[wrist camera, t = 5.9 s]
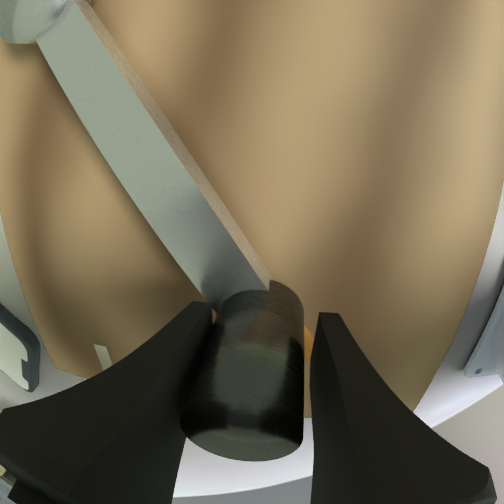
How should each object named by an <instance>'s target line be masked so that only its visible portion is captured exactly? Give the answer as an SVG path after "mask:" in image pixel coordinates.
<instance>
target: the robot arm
mask: <svg viewBox="0 0 504 504" xmlns="http://www.w3.org/2000/svg"><path fill="white" fill-rule="evenodd" d="M212 326H213V319H212V303H208V302H199V301H192V302H191V303H190V304H189V305H187V306H186V307H185V308H184V309H183V310H182V311H181V312H180V313H179V314H177V315H176V316H175V317H174V318H173V319H172V320H171V321H170V322H168V323H167V324H166V325H165V326H164V327H163V328H162V329H160V330H159V331H158V332H157V333H156V334H154V335H153V336H152V337H151V338H150V339H148V340H147V341H146V342H145V343H143V344H142V345H141V346H139V347H138V348H137V349H135V350H134V351H133V352H131V353H130V354H129V355H127V356H126V357H124V358H123V359H122V360H120V361H118V362H117V363H115V364H114V365H112V366H110V367H109V368H107V369H106V370H104V371H102V372H100V373H99V374H97V375H95V376H93V377H91V378H89V379H87V380H85V381H83V382H81V383H79V384H77V385H75V386H73V387H71V388H68V389H66V390H64V391H61V392H59V393H56V394H53V395H51V396H48V397H45V398H42V399H39V400H36V401H33V402H29V403H26V404H22V405H18V406H14V407H10V408H5V409H3V410H2V412H1V413H0V465H1V466H3V467H4V468H5V469H6V470H7V471H8V472H9V473H10V474H12V475H13V476H14V477H15V478H16V479H17V480H16V481H15V483H14V485H13V487H12V486H11V485H9V484H8V483H6V482H5V481H4V480H2V479H1V478H0V504H171V503H172V498H173V492H174V487H175V483H176V478H177V473H178V469H179V464H180V460H181V456H182V452H183V448H184V444H185V440H186V437H187V436H186V435H185V434H184V433H183V431H182V429H181V427H180V424H179V419H180V415H181V412H182V409H183V407H184V404H185V401H186V398H187V395H188V393H189V390H190V387H191V384H192V381H193V378H194V376H195V373H196V370H197V367H198V365H199V362H200V359H201V356H202V353H203V351H204V348H205V345H206V342H207V340H208V337H209V334H210V331H211V328H212ZM463 372H464V374H465V376H466V377H476V376H484V375H492V374H499V375H500V377H501V379H502V381H503V383H504V286H503V288H502V291H501V293H500V296H499V298H498V301H497V303H496V306H495V308H494V310H493V312H492V315H491V317H490V319H489V321H488V323H487V326H486V328H485V330H484V332H483V334H482V336H481V338H480V340H479V342H478V344H477V346H476V348H475V350H474V352H473V353H472V355H471V357H470V359H469V361H468V363H467V364H466V366H465V368H464V370H463ZM309 387H310V400H311V413H312V426H313V440H314V463H313V479H312V492H311V503H310V504H494V503H495V501H496V500H497V496H496V492H495V488H494V484H493V480H492V476H491V473H490V471H489V468H488V467H486V466H485V465H483V464H481V463H479V462H478V461H476V460H475V459H473V458H471V457H469V456H468V455H466V454H464V453H463V452H461V451H460V450H458V449H457V448H456V447H454V446H452V445H451V444H450V443H449V442H447V441H446V440H445V439H443V438H442V437H441V436H439V435H438V434H437V433H436V432H434V431H433V430H432V429H431V428H430V427H429V426H427V425H426V424H425V423H424V422H423V421H422V420H421V419H420V418H418V417H417V416H416V415H415V414H414V413H413V412H412V411H411V410H410V409H409V408H408V407H407V406H406V405H405V404H404V403H403V402H402V401H401V400H400V399H399V398H398V397H397V395H396V394H395V393H394V392H393V391H392V390H391V389H390V387H389V386H388V385H387V384H386V382H385V381H384V380H383V379H382V377H381V376H380V375H379V373H378V372H377V371H376V370H375V368H374V367H373V365H372V364H371V363H370V361H369V360H368V358H367V357H366V355H365V354H364V352H363V351H362V350H361V348H360V347H359V345H358V344H357V342H356V340H355V339H354V337H353V336H352V334H351V332H350V331H349V329H348V327H347V326H346V324H345V322H344V321H343V319H342V317H341V316H340V314H339V313H329V312H319V315H318V321H317V326H316V332H315V337H314V342H313V348H312V353H311V358H310V384H309Z"/></svg>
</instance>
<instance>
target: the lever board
mask: <svg viewBox="0 0 504 504" xmlns="http://www.w3.org/2000/svg"><path fill="white" fill-rule="evenodd" d="M91 7H92V8H93V10H94V11H95V13H96V14H97V16H98V17H99V19H100V20H101V22H102V23H103V25H104V26H105V28H106V29H107V31H108V32H109V33H110V35H111V36H112V38H113V39H114V41H115V42H116V44H117V45H118V47H119V48H120V50H121V51H122V53H123V54H124V56H125V57H126V59H127V60H128V62H129V63H130V65H131V66H132V68H133V69H134V71H135V72H136V74H137V75H138V77H139V78H140V80H141V81H142V83H143V84H144V86H145V87H146V89H147V90H148V92H149V93H150V94H151V96H152V97H153V99H154V100H155V102H156V103H157V105H158V106H159V108H160V109H161V111H162V112H163V114H164V115H165V117H166V118H167V120H168V121H169V123H170V124H171V126H172V127H173V129H174V130H175V132H176V133H177V135H178V136H179V138H180V139H181V141H182V142H183V144H184V145H185V147H186V148H187V150H188V151H189V153H190V154H191V156H192V157H193V159H194V160H195V162H196V163H197V165H198V166H199V168H200V169H201V171H202V172H203V174H204V175H205V177H206V178H207V180H208V181H209V183H210V184H211V186H212V187H213V189H214V190H215V192H216V193H217V195H218V196H219V198H220V199H221V201H222V202H223V204H224V205H225V207H226V208H227V210H228V211H229V213H230V214H231V216H232V217H233V219H234V220H235V222H236V223H237V225H238V226H239V228H240V229H241V231H242V232H243V234H244V235H245V237H246V238H247V240H248V241H249V243H250V244H251V246H252V247H253V249H254V250H255V252H256V253H257V255H258V256H259V258H260V259H261V261H262V262H263V264H264V265H265V267H266V268H267V270H268V271H269V273H270V275H271V276H272V278H273V279H274V281H277V282H280V283H282V284H284V285H286V286H287V287H289V288H290V289H291V290H293V291H294V292H295V293H296V294H297V296H298V297H299V298H300V300H301V302H302V305H303V308H304V344H305V365H304V417H309V418H312V413H311V400H310V387H309V384H310V358H311V353H312V348H313V342H314V337H315V332H316V326H317V321H318V315H319V312H329V313H339V314H340V316H341V317H342V319H343V321H344V322H345V324H346V326H347V327H348V329H349V331H350V332H351V334H352V336H353V337H354V339H355V340H356V342H357V344H358V345H359V347H360V348H361V350H362V351H363V352H364V354H365V355H366V357H367V358H368V360H369V361H370V363H371V364H372V365H373V367H374V368H375V370H376V371H377V372H378V373H379V375H380V376H381V377H382V379H383V380H384V381H385V382H386V384H387V385H388V386H389V387H390V389H391V390H392V391H393V392H394V393H395V394H396V395H397V397H398V398H399V399H400V400H401V401H402V402H403V403H404V404H405V405H406V406H407V407H408V408H409V409H410V410H411V411H412V412H413V411H414V410H415V408H416V406H417V405H418V403H419V402H420V400H421V398H422V397H423V395H424V393H425V391H426V390H427V388H428V386H429V384H430V383H431V381H432V379H433V377H434V375H435V374H436V372H437V370H438V368H439V366H440V364H441V362H442V360H443V358H444V356H445V354H446V352H447V350H448V348H449V346H450V344H451V342H452V340H453V338H454V336H455V333H456V331H457V329H458V327H459V324H460V322H461V320H462V317H463V315H464V313H465V310H466V308H467V305H468V303H469V300H470V298H471V295H472V292H473V290H474V287H475V284H476V282H477V279H478V276H479V273H480V270H481V267H482V264H483V261H484V258H485V255H486V251H487V248H488V245H489V241H490V238H491V234H492V230H493V227H494V223H495V219H496V215H497V210H498V206H499V201H500V197H501V192H502V187H503V181H504V0H95V1H94V2H93V4H92V6H91ZM0 212H1V217H2V221H3V226H4V230H5V234H6V238H7V242H8V246H9V250H10V253H11V257H12V260H13V263H14V267H15V270H16V273H17V276H18V279H19V282H20V285H21V288H22V291H23V294H24V297H25V300H26V302H27V305H28V308H29V310H30V313H31V315H32V318H33V320H34V323H35V325H36V328H37V330H38V332H39V335H40V337H41V339H42V342H43V344H44V346H45V348H46V350H47V352H48V355H49V357H50V359H51V361H52V363H53V365H54V367H55V368H57V369H60V370H63V371H66V372H69V373H71V374H74V375H77V376H80V377H84V378H87V379H89V378H91V377H93V376H95V375H97V374H99V373H100V372H102V371H104V370H106V369H107V368H109V367H110V366H112V365H114V364H115V363H117V362H118V361H120V360H122V359H123V358H124V357H126V356H127V355H129V354H130V353H131V352H133V351H134V350H135V349H137V348H138V347H139V346H141V345H142V344H143V343H145V342H146V341H147V340H148V339H150V338H151V337H152V336H153V335H154V334H156V333H157V332H158V331H159V330H160V329H162V328H163V327H164V326H165V325H166V324H167V323H168V322H170V321H171V320H172V319H173V318H174V317H175V316H176V315H177V314H179V313H180V312H181V311H182V310H183V309H184V308H185V307H186V306H187V305H189V304H190V303H191V302H192V301H199V302H207V301H206V300H205V298H204V297H203V296H202V294H201V293H200V292H199V290H198V289H197V288H196V287H195V285H194V284H193V283H192V281H191V280H190V279H189V277H188V276H187V275H186V273H185V272H184V271H183V269H182V268H181V267H180V265H179V264H178V263H177V261H176V260H175V259H174V257H173V256H172V255H171V253H170V252H169V251H168V249H167V248H166V246H165V245H164V244H163V242H162V241H161V240H160V238H159V237H158V235H157V234H156V233H155V231H154V230H153V228H152V227H151V226H150V224H149V223H148V221H147V220H146V218H145V217H144V216H143V214H142V213H141V211H140V210H139V208H138V207H137V206H136V204H135V203H134V201H133V200H132V198H131V197H130V195H129V194H128V192H127V191H126V189H125V188H124V186H123V185H122V183H121V182H120V181H119V179H118V177H117V176H116V174H115V173H114V171H113V170H112V168H111V167H110V165H109V164H108V162H107V161H106V159H105V158H104V156H103V155H102V153H101V151H100V150H99V148H98V147H97V145H96V144H95V142H94V140H93V139H92V137H91V136H90V134H89V132H88V131H87V129H86V128H85V126H84V124H83V123H82V121H81V119H80V118H79V116H78V114H77V113H76V111H75V109H74V108H73V106H72V104H71V103H70V101H69V99H68V98H67V96H66V94H65V92H64V91H63V89H62V87H61V85H60V84H59V82H58V80H57V78H56V77H55V75H54V73H53V71H52V69H51V68H50V66H49V64H48V62H47V60H46V58H45V57H44V55H43V53H42V51H41V49H40V47H39V45H36V44H20V43H8V42H6V41H4V40H3V39H2V38H1V37H0ZM216 315H217V313H216V312H215V311H214V310H213V308H212V319H213V323H214V320H215V317H216Z"/></svg>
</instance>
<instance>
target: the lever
mask: <svg viewBox="0 0 504 504" xmlns="http://www.w3.org/2000/svg"><path fill="white" fill-rule="evenodd" d="M94 1H95V0H0V37H1V38H2V39H3V40H4V41H6V42H8V43H20V44H36V45H39V47H40V49H41V51H42V53H43V55H44V57H45V58H46V60H47V62H48V64H49V66H50V68H51V69H52V71H53V73H54V75H55V77H56V78H57V80H58V82H59V84H60V85H61V87H62V89H63V91H64V92H65V94H66V96H67V98H68V99H69V101H70V103H71V104H72V106H73V108H74V109H75V111H76V113H77V114H78V116H79V118H80V119H81V121H82V123H83V124H84V126H85V128H86V129H87V131H88V132H89V134H90V136H91V137H92V139H93V140H94V142H95V144H96V145H97V147H98V148H99V150H100V151H101V153H102V155H103V156H104V158H105V159H106V161H107V162H108V164H109V165H110V167H111V168H112V170H113V171H114V173H115V174H116V176H117V177H118V179H119V181H120V182H121V183H122V185H123V186H124V188H125V189H126V191H127V192H128V194H129V195H130V197H131V198H132V200H133V201H134V203H135V204H136V206H137V207H138V208H139V210H140V211H141V213H142V214H143V216H144V217H145V218H146V220H147V221H148V223H149V224H150V226H151V227H152V228H153V230H154V231H155V233H156V234H157V235H158V237H159V238H160V240H161V241H162V242H163V244H164V245H165V246H166V248H167V249H168V251H169V252H170V253H171V255H172V256H173V257H174V259H175V260H176V261H177V263H178V264H179V265H180V267H181V268H182V269H183V271H184V272H185V273H186V275H187V276H188V277H189V279H190V280H191V281H192V283H193V284H194V285H195V287H196V288H197V289H198V290H199V292H200V293H201V294H202V296H203V297H204V298H205V300H206V301H207V302H208V303H212V308H213V310H214V311H215V312H216V313H217V315H216V317H215V320H214V323H213V326H212V328H211V331H210V334H209V337H208V340H207V342H206V345H205V348H204V351H203V353H202V356H201V359H200V362H199V365H198V367H197V370H196V373H195V376H194V378H193V381H192V384H191V387H190V390H189V393H188V395H187V398H186V401H185V404H184V407H183V409H182V412H181V415H180V419H179V424H180V427H181V429H182V431H183V433H184V434H185V435H186V436H187V437H188V438H189V439H190V440H191V441H192V442H193V443H195V444H196V445H197V446H199V447H201V448H202V449H204V450H206V451H208V452H211V453H213V454H216V455H219V456H222V457H225V458H229V459H235V460H241V461H268V460H274V459H278V458H281V457H284V456H287V455H289V454H291V453H293V452H294V451H295V450H297V449H298V448H299V447H300V445H301V443H302V441H303V425H304V365H305V344H304V308H303V305H302V302H301V300H300V298H299V297H298V296H297V294H296V293H295V292H294V291H293V290H291V289H290V288H289V287H287V286H286V285H284V284H282V283H280V282H277V281H274V279H273V278H272V276H271V275H270V273H269V271H268V270H267V268H266V267H265V265H264V264H263V262H262V261H261V259H260V258H259V256H258V255H257V253H256V252H255V250H254V249H253V247H252V246H251V244H250V243H249V241H248V240H247V238H246V237H245V235H244V234H243V232H242V231H241V229H240V228H239V226H238V225H237V223H236V222H235V220H234V219H233V217H232V216H231V214H230V213H229V211H228V210H227V208H226V207H225V205H224V204H223V202H222V201H221V199H220V198H219V196H218V195H217V193H216V192H215V190H214V189H213V187H212V186H211V184H210V183H209V181H208V180H207V178H206V177H205V175H204V174H203V172H202V171H201V169H200V168H199V166H198V165H197V163H196V162H195V160H194V159H193V157H192V156H191V154H190V153H189V151H188V150H187V148H186V147H185V145H184V144H183V142H182V141H181V139H180V138H179V136H178V135H177V133H176V132H175V130H174V129H173V127H172V126H171V124H170V123H169V121H168V120H167V118H166V117H165V115H164V114H163V112H162V111H161V109H160V108H159V106H158V105H157V103H156V102H155V100H154V99H153V97H152V96H151V94H150V93H149V92H148V90H147V89H146V87H145V86H144V84H143V83H142V81H141V80H140V78H139V77H138V75H137V74H136V72H135V71H134V69H133V68H132V66H131V65H130V63H129V62H128V60H127V59H126V57H125V56H124V54H123V53H122V51H121V50H120V48H119V47H118V45H117V44H116V42H115V41H114V39H113V38H112V36H111V35H110V33H109V32H108V31H107V29H106V28H105V26H104V25H103V23H102V22H101V20H100V19H99V17H98V16H97V14H96V13H95V11H94V10H93V8H92V7H91V6H92V4H93V2H94Z"/></svg>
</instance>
